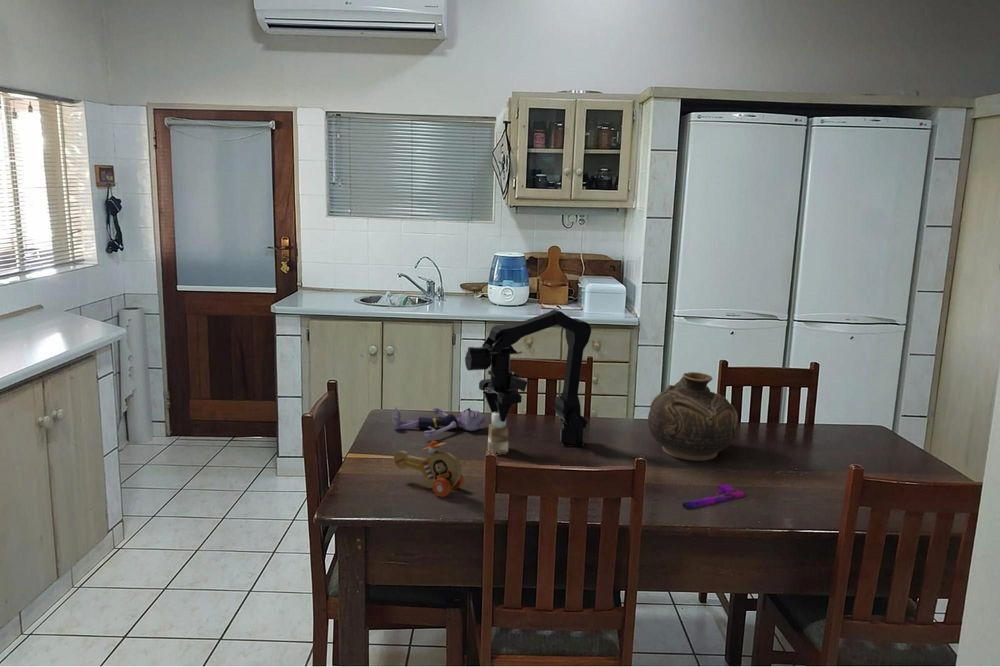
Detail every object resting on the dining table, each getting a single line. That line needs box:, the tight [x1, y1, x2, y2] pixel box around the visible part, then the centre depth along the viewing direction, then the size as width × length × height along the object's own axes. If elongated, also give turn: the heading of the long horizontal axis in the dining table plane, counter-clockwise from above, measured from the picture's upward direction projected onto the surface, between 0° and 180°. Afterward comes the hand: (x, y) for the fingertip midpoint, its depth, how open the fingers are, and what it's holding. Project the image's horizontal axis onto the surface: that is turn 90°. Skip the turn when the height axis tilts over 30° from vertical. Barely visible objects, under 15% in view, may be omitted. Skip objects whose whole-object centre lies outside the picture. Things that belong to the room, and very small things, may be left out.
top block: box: [488, 423, 509, 442], centre depth 228 cm, size 5×5×4 cm
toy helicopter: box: [393, 440, 464, 498], centre depth 200 cm, size 8×21×14 cm, turn 61°
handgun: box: [681, 483, 745, 510], centre depth 199 cm, size 21×8×2 cm, turn 118°
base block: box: [487, 434, 509, 453], centre depth 229 cm, size 6×6×4 cm
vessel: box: [647, 371, 740, 462], centre depth 231 cm, size 27×28×25 cm
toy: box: [391, 406, 487, 439], centre depth 248 cm, size 26×9×30 cm
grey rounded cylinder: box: [490, 411, 507, 429], centre depth 228 cm, size 4×4×4 cm
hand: (498, 418), depth 228 cm, fingers open, 6 cm apart
